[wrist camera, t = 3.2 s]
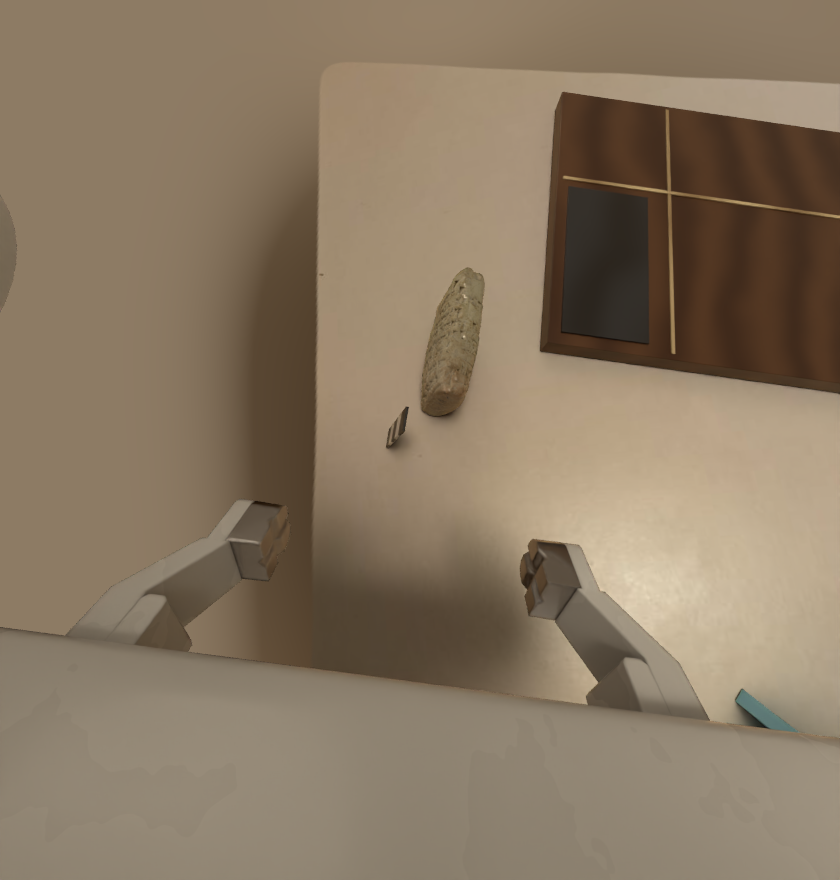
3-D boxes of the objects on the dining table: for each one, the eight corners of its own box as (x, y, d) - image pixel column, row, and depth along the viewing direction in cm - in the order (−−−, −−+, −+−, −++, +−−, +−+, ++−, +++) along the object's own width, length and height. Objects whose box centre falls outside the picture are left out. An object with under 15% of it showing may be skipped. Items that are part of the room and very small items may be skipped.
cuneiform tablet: (385, 447, 25) (410, 307, 27) (441, 457, 26) (460, 321, 28) (402, 431, 18) (433, 245, 20) (476, 446, 19) (498, 266, 21)
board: (539, 351, 27) (548, 341, 25) (555, 110, 32) (563, 88, 30) (1031, 419, 27) (1072, 414, 25) (968, 171, 32) (999, 152, 30)
